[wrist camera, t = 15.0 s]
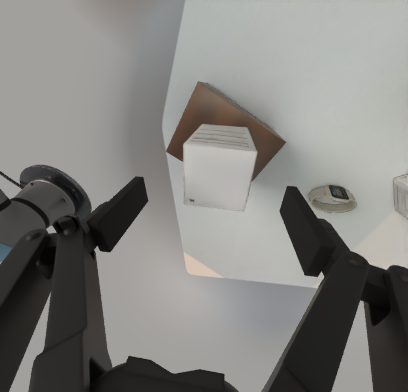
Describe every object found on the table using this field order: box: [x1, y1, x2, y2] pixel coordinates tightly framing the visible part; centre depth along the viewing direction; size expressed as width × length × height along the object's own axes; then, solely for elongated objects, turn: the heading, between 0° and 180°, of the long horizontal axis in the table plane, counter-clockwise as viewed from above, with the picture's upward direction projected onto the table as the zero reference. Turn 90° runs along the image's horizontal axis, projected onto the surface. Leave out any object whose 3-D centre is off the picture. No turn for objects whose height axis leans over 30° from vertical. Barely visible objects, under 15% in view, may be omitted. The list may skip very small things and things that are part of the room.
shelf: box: [166, 82, 286, 182], centre depth 33 cm, size 16×12×10 cm
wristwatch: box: [309, 185, 357, 213], centre depth 39 cm, size 9×6×5 cm
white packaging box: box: [183, 124, 257, 211], centre depth 23 cm, size 7×7×13 cm
